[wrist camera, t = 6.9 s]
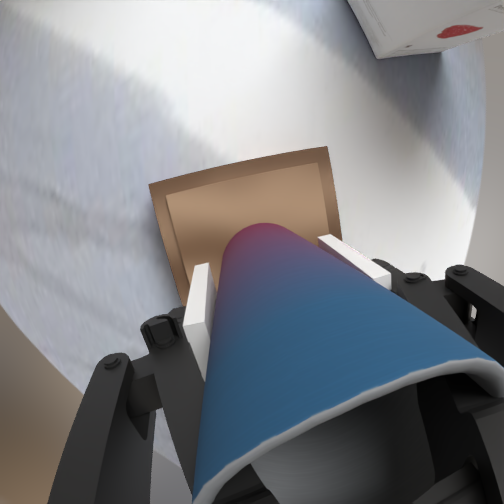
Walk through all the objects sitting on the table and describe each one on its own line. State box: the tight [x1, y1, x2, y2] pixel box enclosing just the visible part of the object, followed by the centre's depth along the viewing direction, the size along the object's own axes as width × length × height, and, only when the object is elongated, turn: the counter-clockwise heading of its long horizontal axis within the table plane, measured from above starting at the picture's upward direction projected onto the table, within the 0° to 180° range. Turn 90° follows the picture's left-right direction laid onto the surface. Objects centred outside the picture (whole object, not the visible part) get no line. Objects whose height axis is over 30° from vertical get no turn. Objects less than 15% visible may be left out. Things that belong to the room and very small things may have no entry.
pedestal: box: [148, 146, 342, 306], centre depth 22 cm, size 12×12×3 cm
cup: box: [192, 223, 504, 504], centre depth 11 cm, size 7×7×15 cm
